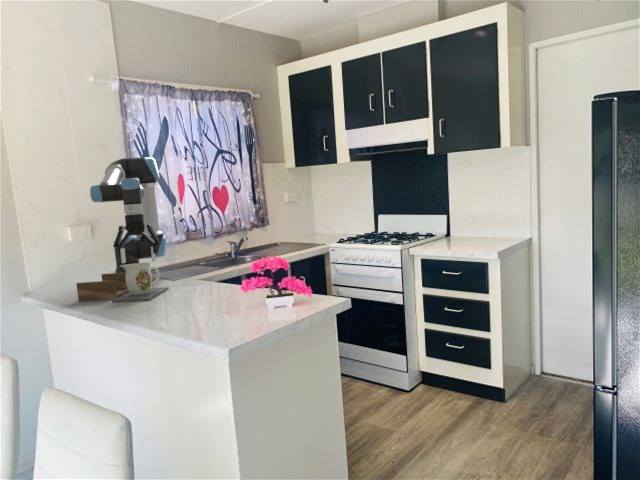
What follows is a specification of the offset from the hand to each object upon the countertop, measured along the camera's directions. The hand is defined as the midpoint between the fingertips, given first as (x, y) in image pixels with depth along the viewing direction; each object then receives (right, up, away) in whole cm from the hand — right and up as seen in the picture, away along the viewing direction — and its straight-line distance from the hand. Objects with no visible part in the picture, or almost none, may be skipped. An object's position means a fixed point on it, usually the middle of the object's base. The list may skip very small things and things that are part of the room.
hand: (139, 262), depth 214 cm
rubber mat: (+1, -15, +1) cm, 15 cm away
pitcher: (+1, -14, +1) cm, 14 cm away
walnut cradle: (-17, -15, +9) cm, 24 cm away
